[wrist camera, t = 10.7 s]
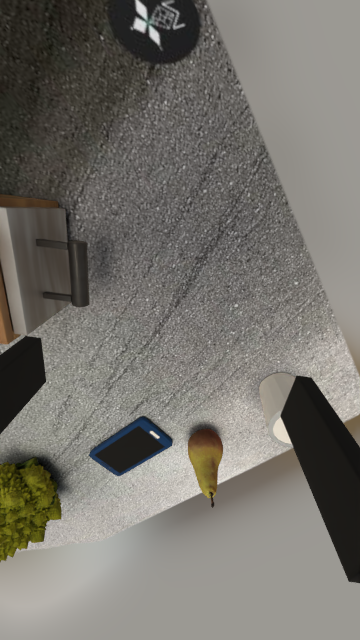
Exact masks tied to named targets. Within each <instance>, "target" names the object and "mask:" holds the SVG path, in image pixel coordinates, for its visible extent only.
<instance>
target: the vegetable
mask: <svg viewBox="0 0 360 640" xmlns="http://www.w3.org/2000/svg"><path fill="white" fill-rule="evenodd" d="M50 476H51V474H50V473H49V472H48V471H47V470H43V466H42V467H41V464H40V465H39V464H38V460H37V457H34V458H32V459H30V460H28V461H26V462H25V463H23V464H21V463H17V464H16V465H15V463H14V464H10V463H8V462H6V463H4V464H2V465H1V464H0V562H1V560H6V559H7V556H8V555H9V556H11V557H13V556H14V554H15V551H16V549H17V548H18V549H19V550H21V549H22V548H25V549H27V546H28V542H29V541H31V542H32V543H37V542H43V541H44V536H45V530H46V528H45V527H46V526H47V525H46V523H47V521H49V520H58V519H61V506H60V505H61V503H60V499H59V498H58V494H57V493H56V492H57V487H58V486H57V483H56V482H54V480H53V479H51V478H50Z"/></svg>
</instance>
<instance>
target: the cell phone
mask: <svg viewBox="0 0 360 640" xmlns="http://www.w3.org/2000/svg"><path fill="white" fill-rule="evenodd" d="M170 446H172V439H171V438H170V437H168V436H167V435H166V434H165V433H164V432H162V431H161V430H160V429H159V428H158V427H156V426H155V425H154V424H153V423H152V422H150V421H149V420H148V419H146V418H145V417H141V418H139V419H137V420H136V421H134V422H133V423H131V424H130V425H128V426H127V427H125V428H124V429H122V430H121V431H119V432H118V433H116V434H115V435H113V436H112V437H110V438H109V439H107V440H106V441H104V442H103V443H101V444H100V445H98V446H97V447H95V448H94V449H93V450H92V451H91V452H90V454H89V456H90V457H91V458H92V459H93V460H95V461H96V462H98V463H99V464H100V465H102V466H103V467H105V468H106V469H107V470H109V471H110V472H112V473H113V474H115V475H117V476H121V475H123V474H124V473H126V472H128V471H130V470H131V469H133V468H135V467H136V466H138V465H140V464H142V463H143V462H145V461H147V460H148V459H150V458H152V457H154V456H155V455H157V454H159V453H160V452H162V451H164V450H166V449H167V448H169V447H170Z"/></svg>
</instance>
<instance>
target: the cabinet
mask: <svg viewBox="0 0 360 640" xmlns="http://www.w3.org/2000/svg"><path fill="white" fill-rule="evenodd" d="M0 206H8V207H55V208H59V207H58V201H51V200H44V199H36V198H28V197H20V196H13V195H5V194H0ZM20 335H21V334H14V329H13V324H12V319H11V316H10V315H9V310H8V305H7V300H6V295H5V289H4V284H3V279H2V274H1V269H0V343H1V344H9V343H10V342H12V341H13V340H14V339H16V338H18V337H19V336H20Z"/></svg>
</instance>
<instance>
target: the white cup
mask: <svg viewBox="0 0 360 640" xmlns="http://www.w3.org/2000/svg"><path fill="white" fill-rule="evenodd" d="M294 381H295V377H294V376H292V375H290V374H287V373H276V374H272V375H270V376H268V377H266V378H265V379H264V380H263V381H262V382H261V384H260V387H259V393H260V398H261V403H262V408H263V412H264V417H265V422H266V426H267V431H268V436H269V437H270V438H271V439H272V440H273V442H275V443H277V444H279V445H281V446H284V447H291V448H293V445H292V443H291V441H290V438H289V436H288V433H287V431H286V428H285V426H284V424H283V421H282V419H281V416H280V415H281V412H282V410H283V407H284V405H285V402H286V400H287V398H288V395H289V393H290V390H291V388H292V386H293V383H294Z"/></svg>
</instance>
